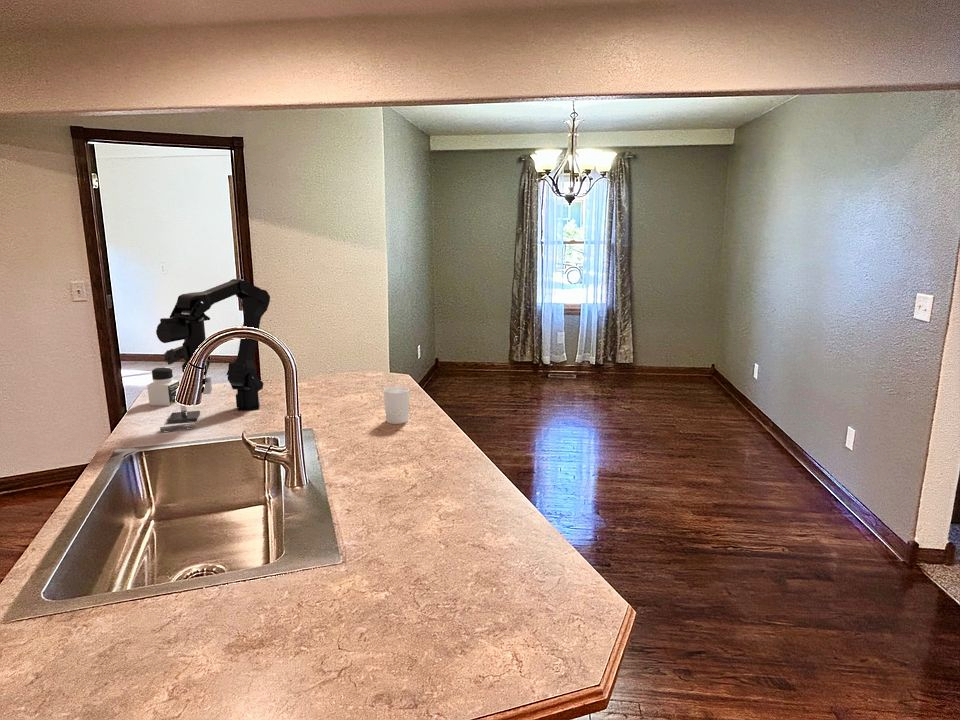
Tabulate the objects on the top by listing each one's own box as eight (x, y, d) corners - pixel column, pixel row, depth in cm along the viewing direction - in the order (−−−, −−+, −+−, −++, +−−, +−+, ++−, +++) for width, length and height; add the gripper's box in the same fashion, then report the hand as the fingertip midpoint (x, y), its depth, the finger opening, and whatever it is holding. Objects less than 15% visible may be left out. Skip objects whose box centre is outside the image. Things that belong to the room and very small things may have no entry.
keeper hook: (200, 413, 192) (198, 398, 191) (197, 421, 184) (195, 405, 183) (172, 415, 189) (170, 400, 188) (168, 423, 182) (166, 407, 181)
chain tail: (194, 426, 179) (194, 422, 179) (194, 428, 178) (194, 424, 177) (160, 430, 176) (160, 426, 175) (160, 432, 174) (160, 428, 173)
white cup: (412, 417, 189) (411, 386, 187) (407, 425, 182) (406, 393, 180) (387, 416, 190) (387, 385, 188) (381, 424, 182) (380, 392, 180)
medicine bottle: (170, 406, 200) (166, 370, 197) (149, 405, 200) (145, 370, 197) (181, 400, 207) (177, 365, 204) (160, 399, 207) (157, 365, 204)
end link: (211, 388, 183) (210, 377, 183) (210, 393, 178) (209, 382, 177) (190, 390, 182) (189, 378, 181) (188, 395, 176) (186, 383, 175)
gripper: (168, 333, 182) (174, 383, 185) (159, 344, 165) (165, 399, 168) (208, 331, 186) (213, 380, 189) (203, 342, 169) (208, 396, 172)
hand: (199, 388), depth 180 cm, fingers closed on end link, 6 cm apart
